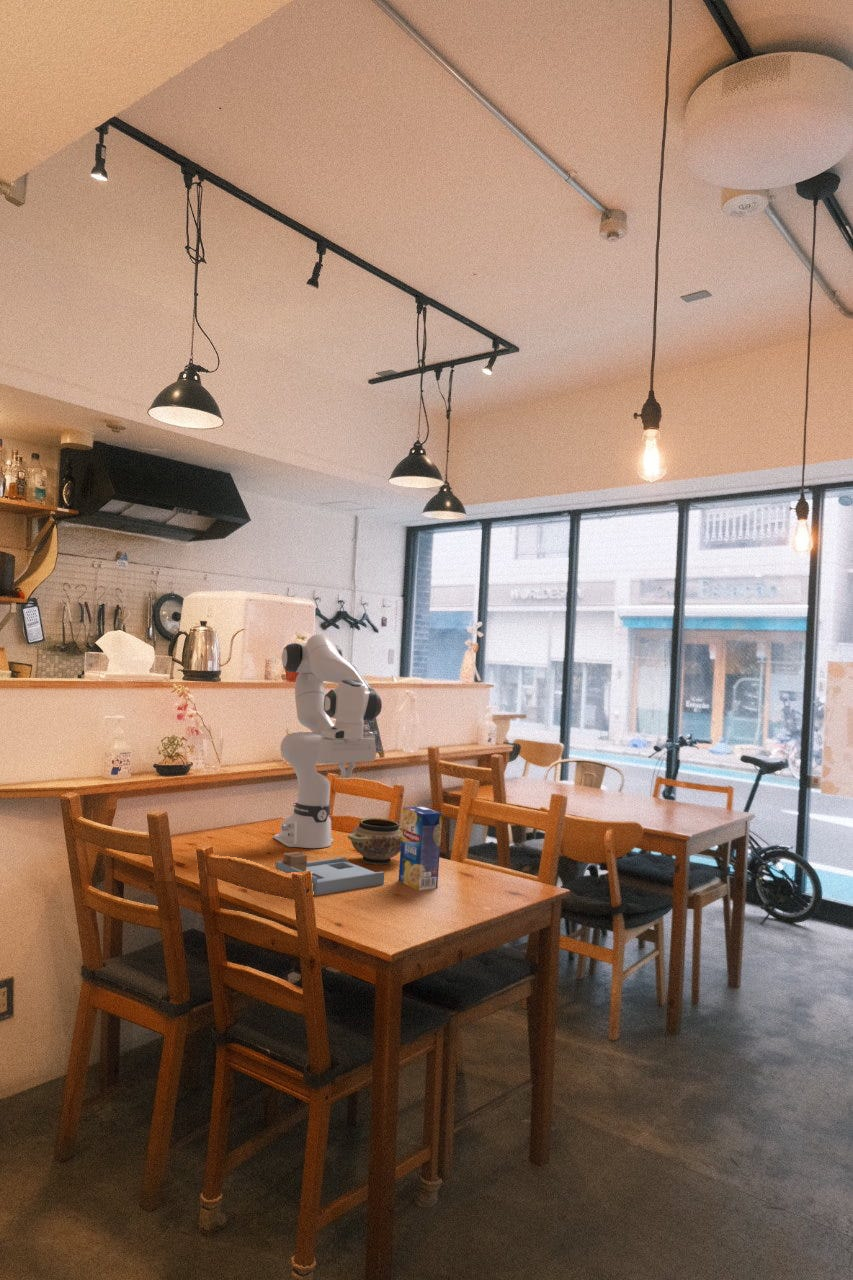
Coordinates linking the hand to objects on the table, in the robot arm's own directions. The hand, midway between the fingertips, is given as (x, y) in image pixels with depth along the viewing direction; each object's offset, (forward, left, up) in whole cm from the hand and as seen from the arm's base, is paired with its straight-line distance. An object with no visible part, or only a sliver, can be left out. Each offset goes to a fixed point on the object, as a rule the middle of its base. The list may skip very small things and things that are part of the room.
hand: (346, 776), depth 257 cm
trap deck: (+8, -9, -29) cm, 31 cm away
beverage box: (+23, +12, -29) cm, 39 cm away
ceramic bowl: (-4, +18, -29) cm, 35 cm away
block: (+2, -18, -27) cm, 32 cm away
